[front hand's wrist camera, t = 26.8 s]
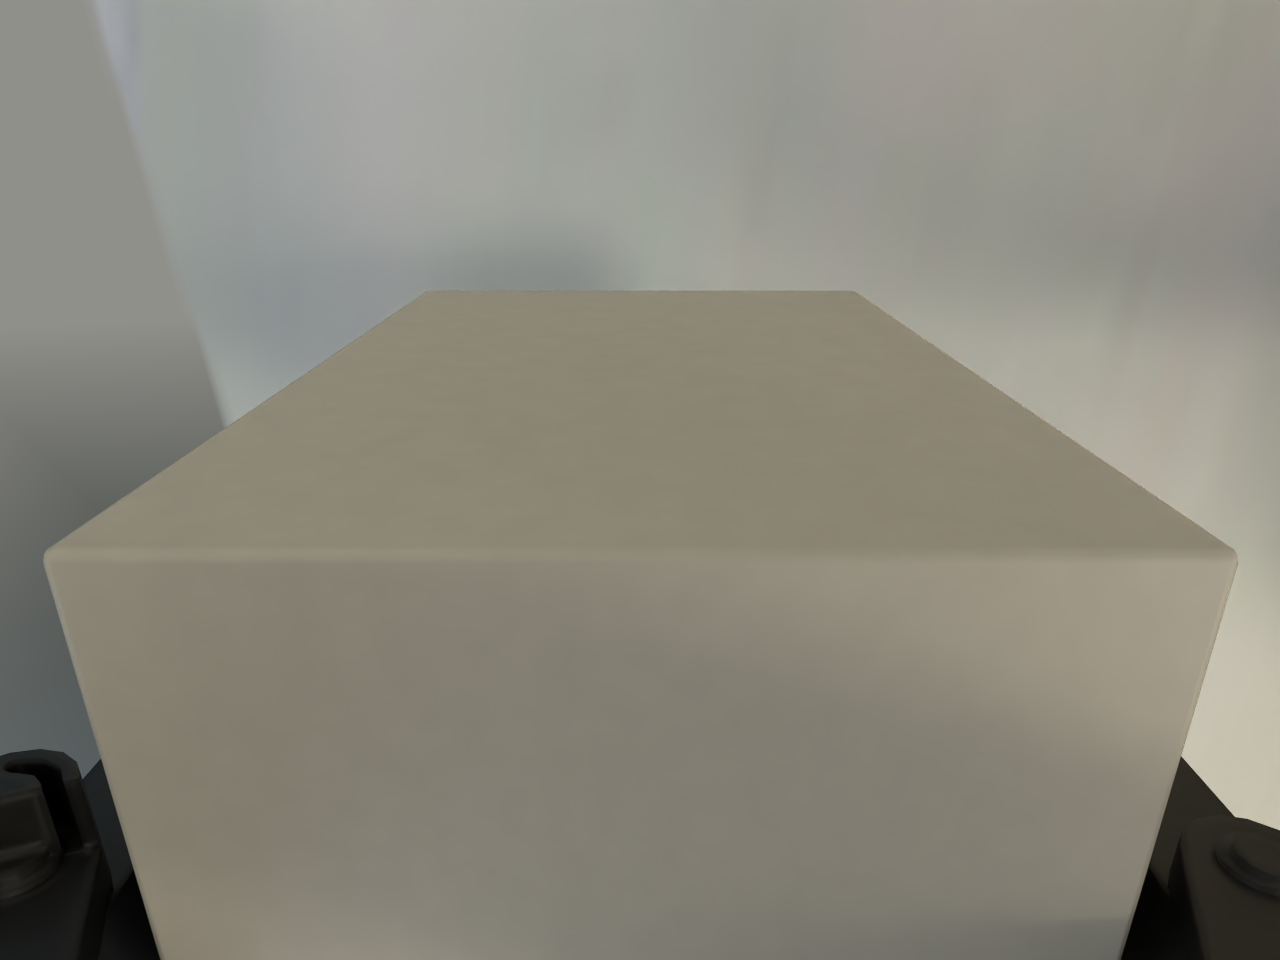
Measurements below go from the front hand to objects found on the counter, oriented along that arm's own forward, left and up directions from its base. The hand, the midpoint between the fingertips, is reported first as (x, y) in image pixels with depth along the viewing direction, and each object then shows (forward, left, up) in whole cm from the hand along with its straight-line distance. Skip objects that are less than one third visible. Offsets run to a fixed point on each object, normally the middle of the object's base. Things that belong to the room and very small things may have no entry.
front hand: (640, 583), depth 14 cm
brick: (0, 0, -3) cm, 3 cm away
